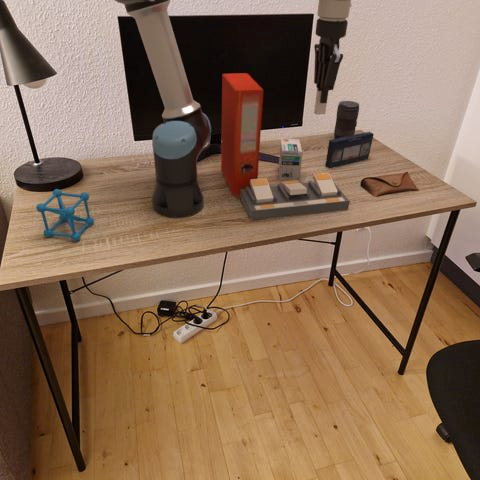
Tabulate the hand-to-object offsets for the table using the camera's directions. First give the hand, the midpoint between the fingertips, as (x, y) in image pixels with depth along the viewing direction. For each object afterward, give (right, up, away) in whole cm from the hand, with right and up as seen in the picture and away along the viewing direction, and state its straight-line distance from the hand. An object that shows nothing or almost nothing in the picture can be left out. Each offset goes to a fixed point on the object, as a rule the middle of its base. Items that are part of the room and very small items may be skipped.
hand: (319, 113), depth 119 cm
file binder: (-22, -16, +22) cm, 36 cm away
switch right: (+4, -18, +12) cm, 22 cm away
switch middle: (-6, -19, +10) cm, 22 cm away
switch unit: (-6, -24, +12) cm, 27 cm away
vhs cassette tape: (+17, -7, +37) cm, 41 cm away
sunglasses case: (+27, -18, +22) cm, 39 cm away
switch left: (-16, -20, +7) cm, 27 cm away
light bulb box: (-5, -13, +28) cm, 31 cm away
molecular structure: (-68, -33, -3) cm, 75 cm away
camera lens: (+19, +4, +53) cm, 57 cm away
